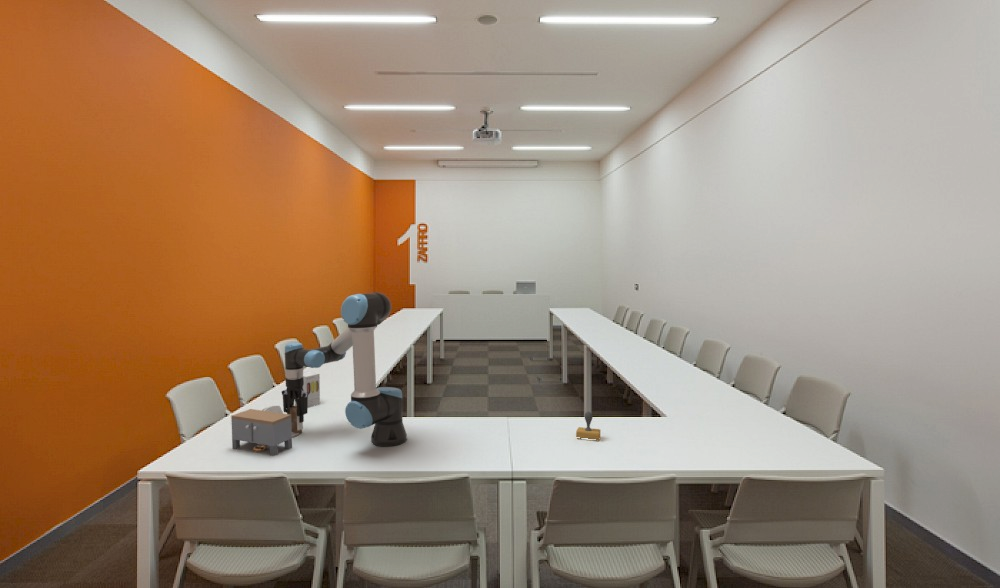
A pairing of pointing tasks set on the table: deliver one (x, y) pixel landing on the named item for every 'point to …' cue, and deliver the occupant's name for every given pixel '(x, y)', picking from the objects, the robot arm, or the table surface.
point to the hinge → (273, 409)
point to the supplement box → (312, 388)
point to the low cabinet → (262, 429)
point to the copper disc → (259, 448)
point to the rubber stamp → (588, 429)
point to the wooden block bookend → (292, 423)
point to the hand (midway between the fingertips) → (295, 428)
